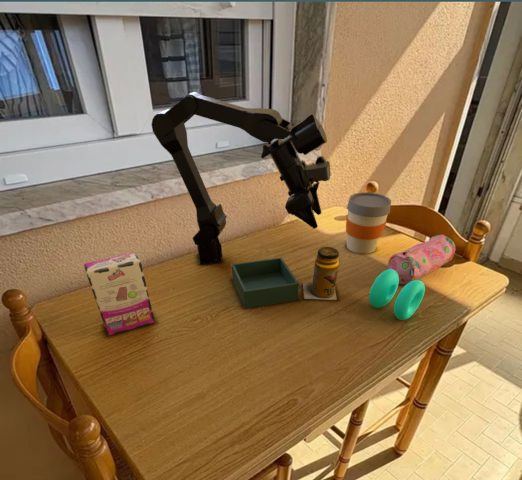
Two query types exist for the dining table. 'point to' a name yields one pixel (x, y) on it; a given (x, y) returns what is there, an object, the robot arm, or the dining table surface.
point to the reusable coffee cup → (366, 221)
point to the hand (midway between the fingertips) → (317, 220)
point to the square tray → (264, 282)
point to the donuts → (406, 299)
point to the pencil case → (422, 258)
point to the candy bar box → (120, 292)
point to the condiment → (323, 275)
